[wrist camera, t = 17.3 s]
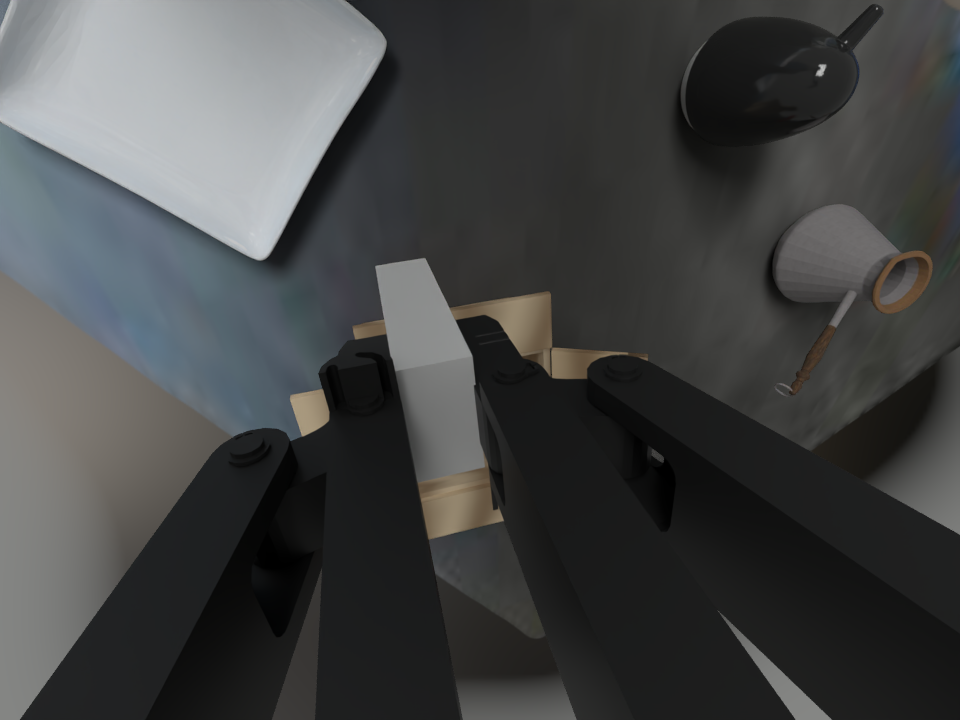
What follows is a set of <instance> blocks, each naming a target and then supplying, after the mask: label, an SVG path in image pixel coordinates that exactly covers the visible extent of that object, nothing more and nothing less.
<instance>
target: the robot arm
mask: <svg viewBox="0 0 960 720" xmlns="http://www.w3.org/2000/svg"><path fill="white" fill-rule="evenodd" d="M375 268H376V274H377V280H378V286H379V292H380V297H381V303H382V309H383V315H384V321H385V327H386V333H387V334H383V335H378V336H372V337H367V338H361V339H356V340H350V341H347V342H346V343H345V345H344V346H343V347H342V348H341V350H340V351H339V356H336V357H334V358H332V359H330V360H329V361H328V362H327V363H325V364H324V365H323V366H322V367H321V369H320V371H319V373H318V374H319V378H320V381H321V385H322V388H323V392H324V395H325V398H326V402H327V405H328V409H329V421H328V422H327V423H326V424H325V425H323V426H322V427H320V428H319V429H317V430H316V431H313V432H311V433H309V434H307V435H305V436H303V437H300V438H298V439H295V440H293V441H290V439H289V437H288V436H287V434H286V433H285V432H283V431H281V430H279V429H272V428H262V429H256V430H250V431H247V432H244V433H241V434H239V435H236V436H234V437H233V438H231V439H230V440H228V441H226V442H225V443H223V444H222V445H220V446H219V447H218V448H217V449H216V450H215V451H214V452H213V453H212V454H211V456H210V457H209V459H208V460H207V461H206V463H205V464H204V465H203V467H202V468H201V470H200V471H199V472H198V474H197V475H196V477H195V478H194V479H193V481H192V482H191V483H190V485H189V486H188V488H187V489H186V490H185V492H184V493H183V495H182V496H181V497H180V499H179V500H178V502H177V503H176V504H175V506H174V507H173V508H172V510H171V511H170V513H169V514H168V515H167V517H166V518H165V519H164V521H163V522H162V524H161V525H160V526H159V528H158V529H157V531H156V532H155V533H154V535H153V536H152V538H151V539H150V540H149V542H148V543H147V544H146V546H145V547H144V549H143V550H142V552H141V553H140V554H139V556H138V557H137V558H136V560H135V561H134V562H133V564H132V565H131V567H130V568H129V569H128V571H127V572H126V573H125V575H124V576H123V578H122V579H121V580H120V582H119V583H118V585H117V586H116V587H115V589H114V590H113V592H112V593H111V594H110V596H109V597H108V598H107V600H106V601H105V603H104V604H103V605H102V607H101V608H100V610H99V611H98V612H97V614H96V615H95V616H94V618H93V619H92V621H91V622H90V623H89V625H88V626H87V627H86V629H85V630H84V632H83V633H82V635H81V636H80V637H79V639H78V640H77V641H76V643H75V644H74V645H73V647H72V648H71V650H70V651H69V653H68V654H67V655H66V657H65V658H64V660H63V661H62V662H61V663H60V665H59V666H58V668H57V669H56V670H55V672H54V673H53V675H52V676H51V677H50V679H49V680H48V681H47V683H46V684H45V686H44V687H43V688H42V690H41V691H40V693H39V694H38V695H37V697H36V698H35V699H34V701H33V702H32V704H31V705H30V706H29V708H28V709H27V711H26V712H25V713H24V715H23V716H22V718H21V719H20V720H272V717H273V714H274V711H275V708H276V705H277V702H278V698H279V695H280V693H281V690H282V686H283V684H284V681H285V677H286V674H287V671H288V668H289V665H290V662H291V659H292V656H293V653H294V650H295V647H296V644H297V641H298V638H299V635H300V632H301V629H302V626H303V623H304V620H305V617H306V614H307V611H308V608H309V605H310V602H311V599H312V595H313V592H314V589H315V586H316V583H317V580H318V577H319V574H320V571H321V568H322V584H321V605H320V627H319V649H318V670H317V692H316V715H315V720H463V719H462V714H461V709H460V703H459V698H458V693H457V687H456V682H455V677H454V671H453V666H452V661H451V656H450V650H449V645H448V640H447V634H446V630H445V624H444V619H443V614H442V608H441V603H440V598H439V592H438V588H437V582H436V576H435V571H434V566H433V561H432V555H431V550H430V545H429V539H428V534H427V529H426V524H425V518H424V513H423V508H422V503H421V497H420V492H419V487H418V483H419V482H423V481H427V480H432V479H436V478H440V477H445V476H449V475H453V474H458V473H462V472H466V471H471V470H475V469H479V468H484V467H485V464H484V455H483V452H484V454H485V457H486V459H487V462H488V468H489V477H490V486H491V495H492V505H493V510H498V506H499V509H500V511H501V514H502V517H503V520H504V522H505V525H506V528H507V531H508V533H509V536H510V539H511V542H512V544H513V547H514V550H515V552H516V555H517V558H518V561H519V563H520V566H521V569H522V572H523V574H524V577H525V580H526V582H527V585H528V588H529V591H530V593H531V596H532V599H533V602H534V604H535V607H536V610H537V613H538V615H539V618H540V621H541V623H542V626H543V629H544V632H545V634H546V637H547V640H548V642H549V645H550V648H551V651H552V653H553V656H554V659H555V661H556V664H557V667H558V670H559V673H560V675H561V678H562V681H563V684H564V686H565V689H566V691H567V694H568V697H569V700H570V703H571V705H572V708H573V711H574V713H575V716H576V719H577V720H795V718H794V717H793V715H792V714H791V713H790V711H789V710H788V708H787V707H786V706H785V704H784V703H783V701H782V700H781V699H780V697H779V696H778V695H777V693H776V692H775V690H774V689H773V688H772V686H771V685H770V683H769V682H768V681H767V679H766V678H765V676H764V675H763V673H762V672H761V671H760V669H759V668H758V666H757V665H756V664H755V663H754V661H753V660H752V658H751V657H750V655H749V654H748V653H747V651H746V650H745V648H744V647H743V646H742V644H741V643H740V641H739V640H738V639H737V637H736V636H735V634H734V633H733V632H732V630H731V629H730V627H729V626H728V625H727V623H726V622H725V621H724V619H723V618H722V616H721V615H720V613H721V614H723V615H724V616H725V617H726V618H727V619H728V620H729V621H730V622H731V623H732V624H733V625H734V626H735V627H736V628H737V629H738V630H739V631H740V632H741V633H742V634H743V635H744V636H745V637H747V638H748V639H749V640H750V641H751V642H752V643H753V644H754V645H755V646H756V647H757V648H758V649H759V650H760V651H761V652H762V653H763V654H764V655H765V656H766V657H767V658H768V659H770V661H771V662H773V663H774V664H775V665H776V666H777V667H778V668H779V669H780V670H781V671H782V672H783V673H784V674H785V675H786V676H787V677H788V678H789V679H790V680H791V681H792V682H793V683H794V684H795V685H796V686H798V687H799V688H800V689H801V690H802V691H803V692H804V693H805V694H806V695H807V696H808V697H809V698H810V699H811V700H812V701H813V702H814V703H815V704H816V705H817V706H818V707H819V708H820V709H821V710H823V711H824V712H825V713H826V714H827V715H828V716H829V717H830V718H831V719H832V720H960V535H959V534H957V533H956V532H954V531H952V530H950V529H949V528H947V527H945V526H943V525H941V524H940V523H938V522H936V521H934V520H932V519H930V518H929V517H927V516H925V515H923V514H922V513H920V512H918V511H916V510H914V509H913V508H911V507H909V506H907V505H905V504H904V503H902V502H900V501H898V500H897V499H894V498H893V497H891V496H889V495H887V494H886V493H884V492H882V491H880V490H879V489H877V488H875V487H873V486H871V485H870V484H868V483H866V482H864V481H862V480H861V479H859V478H857V477H855V476H853V475H852V474H850V473H848V472H846V471H845V470H843V469H841V468H839V467H837V466H836V465H834V464H832V463H830V462H828V461H827V460H825V459H823V458H821V457H819V456H818V455H815V454H814V453H812V452H810V451H809V450H807V449H805V448H803V447H801V446H800V445H798V444H796V443H794V442H792V441H791V440H789V439H787V438H785V437H784V436H782V435H780V434H778V433H776V432H775V431H773V430H771V429H769V428H767V427H766V426H764V425H762V424H760V423H758V422H757V421H755V420H753V419H751V418H749V417H748V416H746V415H744V414H742V413H740V412H739V411H737V410H735V409H733V408H732V407H730V406H728V405H726V404H724V403H723V402H721V401H719V400H717V399H715V398H714V397H712V396H710V395H708V394H706V393H705V392H703V391H701V390H699V389H697V388H696V387H694V386H692V385H690V384H688V383H687V382H685V381H683V380H681V379H679V378H678V377H676V376H674V375H672V374H671V373H669V372H667V371H665V370H663V369H662V368H660V367H658V366H656V365H654V364H653V363H651V362H649V361H646V360H644V359H641V358H639V357H634V356H628V355H623V354H619V355H610V356H606V357H602V358H599V359H597V360H595V361H593V362H592V363H591V364H590V365H589V367H588V368H587V379H557V378H551V377H550V376H549V374H548V373H547V372H546V370H545V369H544V368H543V367H542V366H541V365H540V364H538V363H537V362H534V361H531V360H529V359H523V358H522V356H521V355H520V353H519V352H518V350H517V349H516V347H515V346H514V344H513V343H512V341H511V340H510V339H509V337H508V335H507V334H506V332H504V329H503V328H502V326H501V325H500V323H499V322H498V321H497V320H495V319H493V318H491V317H489V316H487V315H480V316H474V317H469V318H463V319H458V320H455V319H454V317H453V315H452V313H451V311H450V309H449V307H448V304H447V302H446V300H445V298H444V296H443V294H442V292H441V290H440V288H439V286H438V284H437V282H436V280H435V277H434V275H433V273H432V271H431V269H430V267H429V265H428V263H427V261H426V259H425V258H422V259H415V260H409V261H403V262H397V263H390V264H384V265H378V266H375ZM652 448H653V449H654V450H655V451H657V452H658V453H659V454H661V455H662V456H663V457H664V462H663V463H662V462H660V461H658V460H657V459H655V458H654V457H653V456H651V453H652ZM717 610H718V611H720V613H719V612H718V611H717Z"/></svg>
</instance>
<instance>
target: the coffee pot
mask: <svg viewBox="0 0 960 720" xmlns="http://www.w3.org/2000/svg"><path fill="white" fill-rule="evenodd" d="M932 269H933V267H932V261H931V259H930V257H929V256H928V255H927V254H926V253H924V252H922V251H910V252H906V253H900V252H899V251H898V250H897V249H896V248H895V247H894V246H893V245H892V244H891V243H890V242H889V241H888V240H887V239H886V238H885V237H884V236H883V235H882V234H881V233H880V232H879V231H878V230H877V229H876V228H875V227H874V226H873V225H872V224H871V223H870V222H869V221H868V220H867V219H866V218H865V217H864V216H863V215H862V214H861V213H860V212H859V211H857V210H856V209H854V208H853V207H851V206H848V205H843V204H834V205H827V206H823V207H820V208H817V209H815V210H812V211H810V212H808V213H807V214H805V215H804V216H802V217H801V218H799V219H798V220H797V221H796V222H795V223H794V224H793V225H791V226H790V227H789V228H788V229H787V230H786V231H785V232H784V234H783V235H782V237H781V238H780V240H779V242H778V244H777V246H776V248H775V252H774V257H773V277H774V280H775V284H776V285H777V287H778V289H779V290H780V291H781V292H782V294H783V295H784V296H785V297H787V298H789V299H790V300H792V301H795V302H803V303H815V302H841V303H840V305H839V307H838V308H837V310H836V312H835V314H834V316H833V317H832V319H831V321H830V323H829V325H827V326H826V328H825V329H824V331H823V332H822V334H821V335H820V337H819V338H818V340H817V341H816V342H815V344H814V345H813V347H812V348H811V350H810V351H809V353H808V354H807V356H806V359H805V361H804V364H803V367H802V369H801V371H798V372H797V373H796V376H797V379H796V380H795V381H794V382H793V383H792V385H791V388H790V387H789V386H787V385H785V384H782V383H776V384H775V385H774V389H775V390H776V391H777V392H778V393H780V394H781V395H783V396H786V397H793V396H794V395H795V394H796V393H797V392H798V391H799V390H800V389H801V388H802V384H803V382H804V381H805V380H808V379H809V378H810V375H809V373H810V372H811V370H812V369H813V368H814V367H815V366H816V364H817V363H818V362H819V361H820V360H821V358H822V356H823V354H824V352H825V350H826V348H827V346H828V344H829V342H830V340H831V338H832V337H833V335H834V333H835V331H836V327H837V326H838V324H839V323H840V321H841V319H842V318H843V316H844V315H845V313H846V312H847V310H848V309H849V307H850V305H851V304H852V302H853V301H871V302H873V305H874V307H875V308H876V309H877V310H878V311H880V312H881V313H887V314H891V313H896V312H899V311H901V310H903V309H905V308H907V307H908V306H910V305H911V304H912V303H913V302H914V301H915V300H917V299H918V297H919V296H920V295H921V294H922V293H923V291H924V290H925V288H926V286H927V285H928V283H929V280H930V278H931V275H932ZM776 385H782V386H785V387H786V388H788V389H789V390H790V391H789V393H790V394H791V395H786V394H783V393H782V392H780V391H779V390H778V389H777V388H776Z"/></svg>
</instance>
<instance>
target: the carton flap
mask: <svg viewBox="0 0 960 720" xmlns="http://www.w3.org/2000/svg"><path fill="white" fill-rule="evenodd" d="M619 354H623V355H628V356H634V357H639V358H641V359H644V360H646V361H648V354H641V353H625V352H610V351H595V350H581V349H566V348H552V351H551V355H552V378H557V379H587V368H588V367H589V365H590V364H591V363H592V362H593V361H595V360H597V359H599V358H602V357H606V356H610V355H619Z"/></svg>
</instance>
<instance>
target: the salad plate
mask: <svg viewBox="0 0 960 720" xmlns="http://www.w3.org/2000/svg"><path fill="white" fill-rule="evenodd" d="M386 46H387V42H386V39H385V37H384V36H383V34H382V33H381V32H380V30H379V29H378V28H377V27H376V26H375V25H374V24H373V23H371V22H370V21H369V20H368V19H367V18H366V17H364V16H363V15H362V14H361V13H360V12H359V11H358V10H356V9H355V8H354V7H353V6H352V5H350V4H349V3H348V2H347V1H345V0H11V1H10V4H9V7H8V9H7V12H6V14H5V17H4V20H3V22H2V25H1V27H0V122H1V123H3V124H4V125H6V126H8V127H10V128H11V129H13V130H15V131H17V132H19V133H21V134H22V135H24V136H26V137H28V138H30V139H32V140H34V141H36V142H38V143H40V144H41V145H43V146H45V147H47V148H49V149H51V150H53V151H55V152H57V153H59V154H61V155H63V156H65V157H67V158H69V159H71V160H73V161H75V162H77V163H79V164H81V165H82V166H84V167H86V168H88V169H90V170H92V171H94V172H96V173H98V174H100V175H102V176H104V177H105V178H107V179H109V180H111V181H113V182H115V183H117V184H119V185H121V186H123V187H124V188H126V189H128V190H130V191H132V192H134V193H135V194H137V195H139V196H141V197H143V198H145V199H146V200H148V201H150V202H152V203H154V204H155V205H157V206H159V207H161V208H162V209H164V210H166V211H168V212H170V213H172V214H173V215H175V216H177V217H179V218H181V219H182V220H184V221H186V222H188V223H189V224H191V225H193V226H195V227H196V228H198V229H200V230H202V231H203V232H205V233H207V234H208V235H210V236H212V237H214V238H215V239H217V240H219V241H221V242H223V243H224V244H226V245H228V246H230V247H231V248H233V249H235V250H237V251H239V252H241V253H242V254H244V255H246V256H248V257H250V258H253V259H255V260H259V261H262V260H265V259H266V258H268V256H269V255H270V254H271V253H272V251H273V249H274V247H275V246H276V244H277V242H278V240H279V239H280V237H281V235H282V233H283V231H284V229H285V227H286V225H287V223H288V221H289V220H290V218H291V216H292V214H293V212H294V210H295V208H296V206H297V204H298V202H299V200H300V198H301V196H302V195H303V193H304V191H305V189H306V187H307V185H308V183H309V182H310V180H311V178H312V176H313V174H314V172H315V171H316V169H317V167H318V165H319V163H320V161H321V160H322V158H323V156H324V154H325V153H326V151H327V149H328V148H329V146H330V144H331V142H332V141H333V139H334V137H335V136H336V134H337V132H338V131H339V129H340V127H341V126H342V124H343V123H344V121H345V119H346V118H347V116H348V115H349V113H350V112H351V110H352V109H353V107H354V106H355V104H356V102H357V101H358V99H359V98H360V96H361V95H362V93H363V92H364V90H365V89H366V87H367V85H368V84H369V82H370V80H371V79H372V77H373V75H374V73H375V72H376V70H377V68H378V66H379V64H380V62H381V61H382V59H383V56H384V54H385V51H386Z"/></svg>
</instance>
